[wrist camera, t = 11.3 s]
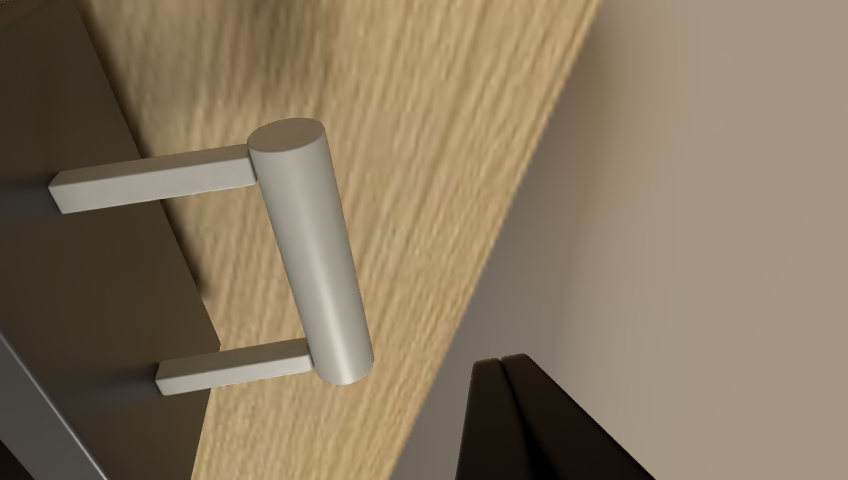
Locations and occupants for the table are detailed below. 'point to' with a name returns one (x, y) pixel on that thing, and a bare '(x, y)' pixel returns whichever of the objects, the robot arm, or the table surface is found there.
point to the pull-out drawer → (137, 268)
